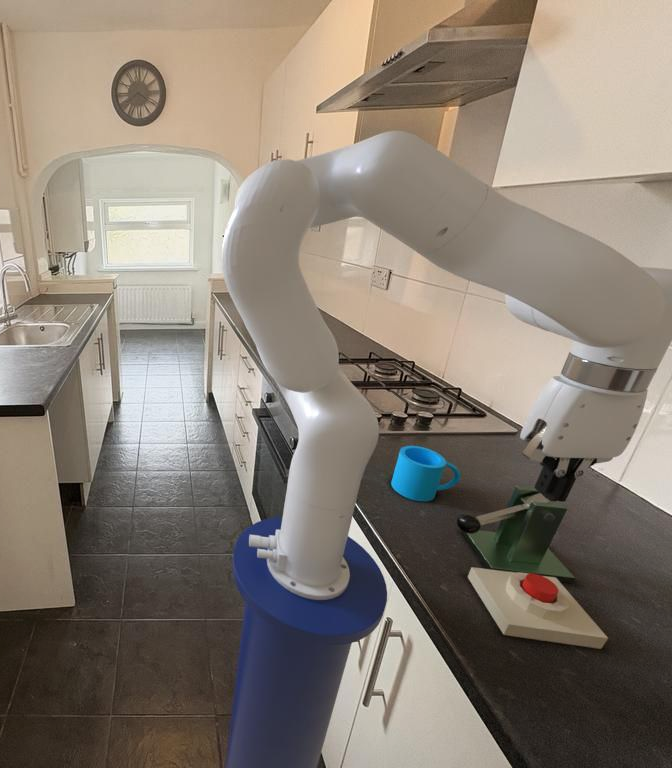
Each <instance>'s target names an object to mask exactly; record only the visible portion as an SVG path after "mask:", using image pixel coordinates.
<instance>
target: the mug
mask: <svg viewBox="0 0 672 768" xmlns="http://www.w3.org/2000/svg"><path fill="white" fill-rule="evenodd" d="M445 467H447V468H450V469H451V470H452V471H453V473H454V474H453V477H452V479H451V480H449V481H448V482H446V483H444V484H440V483H441V479H442V477H443V473H444V471H445V470H444V469H445ZM460 479H461V472H460V470H459V468H458V467H457V466H456V465H454V464H453V463H451V462H449V461H447V460H446V459H445V458H444V457H443V456H442V454H440V453H439V452H437V451H434V450H433V449H430V448H427V447H423V446H417V445H406V446H403V447H400V450H399V453H398V457H397V461H396V464H395V468H394V471H393V475H392V479H391V482H390V484H391V487H392V488H393V490H394V491H395V492H397V493H398V494H399V495H401V496H402V497H404V498H407V499H409V500H412V501H416V502H417V501H418V502H429V501H432V500H434V499H435V497H436V494H437V492H438V491H444V490H448V489H450V488H453V487H454V486H455V485H457V484H458V483H459V481H460Z"/></svg>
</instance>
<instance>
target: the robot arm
mask: <svg viewBox="0 0 672 768" xmlns="http://www.w3.org/2000/svg"><path fill="white" fill-rule="evenodd" d="M352 218H363V219H364V220H367V221H368V222H370V223H372V225H374V226H376V227H378V228H379V229H380V230H382V231H384V232H385V233H387V234H388V235H390V236H392V237H394V238H395V239H396V240H398V241H400V242H401V243H403V244H404V245H406V246H407V247H409V248H410V249H412V250H413V251H415V252H416V253H417V254H419V255H420V256H422V257H423V258H425V259H426V260H427V261H429V262H430V263H432V264H433V265H434V266H436V267H438V268H440V269H441V270H444V271H446V272H448V273H450V274H452V275H454V276H456V277H458V278H461V279H464V280H466V281H469V282H471V283H475V284H478V285H480V286H484V287H486V288H489V289H492V290H495V291H497V292H500V293H502V294H505V295H504V302H505V305H506V308H507V310H508V311H509V313H510V314H511V315H512V316H513V317H515V318H516V319H517V320H519V321H521V322H523V323H525V324H527V325H530V326H532V327H534V328H537V329H540V330H542V331H546V332H550V333H552V334H556V335H558V336H561V337H563V338H566V339H569V340H572V345H571V347H570V349H569V352H568V354H567V356H566V358H565V360H564V361H565V362H564V364H563V367H562V368H561V371H560V373H559V375H554V376H552V377H551V379H550V380H549V381H548V382H547V384H546V385H545V387H543V389H542V390H541V392H540V394H539V395H538V397H537V399H536V401H535V402H534V404H533V406H532V407H531V410H530V411H529V413H528V415H527V417H526V419H525V421H524V424H523V426H522V429H521V431H520V435H519V439H520V440H521V441H523V442H526V443H528V444H527V445H526V447H525V449H523V451H522V456H523V457H525V458H527V459H528V460H529V461H530V462H531V461H532V462H536V463H539V465H540V466H542V468H541V470H540V472H539V475H538V477H537V480H536V482H535V484H534V487H535V489H536V490H537V491H539V492H540V493H541V494H542V495H544V496H545V497H546V498H547V500H548V501H549V502H566V501H567V499H568V497H569V495H570V493H571V491H572V488H573V487H574V484H575V482H576V480H577V478H581V477H583V476H584V475H585V473H586V472H587V471H588V469H589V468H591V467H592V466H594V465H595V464H602V463H607V462H611V461H612V460H613V458H617V457H619V456H621V455H622V454H623V453H624V451H625V450H626V449H627V447H628V446H629V445H630V442H631V441H632V438H633V436H634V434H635V432H636V430H637V427H638V425H639V423H640V420H641V417H642V414H643V412H644V408H645V405H646V401H647V396H648V393H649V389H648V388H649V386H650V384H651V382H652V380H653V379H654V376H655V374H656V373H657V371H658V368H659V366H660V365H661V363H662V361H663V359H664V357H665V355H666V352H667V350H668V349H669V347H670V345H671V343H672V269H671V268H662V267H647V266H639V265H637V264H636V262H633V261H632V260H630V259H629V258H628V257H626V256H625V255H623V254H622V253H620V252H619V251H617V250H616V249H614V248H613V247H612V246H610V245H607V244H606V243H604V242H603V241H600V240H598V239H596V238H595V237H593V236H591V235H588V234H586V233H584V232H582V231H579V230H578V229H575V228H573V227H571V226H568V225H566V224H564V223H561V222H560V221H558V220H555V219H552V218H550V217H549V216H547V215H545V214H543V213H541V212H538V211H537V210H534V209H532V208H530V207H527V206H525V205H522V204H519V203H517V202H515V201H513V200H511V199H510V198H508V197H506V196H504V195H503V194H501V192H498V191H497V190H496V189H494V188H493V187H491V186H490V185H489V184H487V183H486V182H484V181H483V180H481V179H480V178H479V177H477V176H476V175H474V174H473V173H471V172H470V171H468V169H466V168H464V167H463V166H461V165H460V164H459V163H457V162H456V161H455V160H453V159H452V158H450V157H449V156H448V155H446V154H444V153H443V152H442V151H440V150H439V149H437V148H436V147H435V146H434V145H432V144H430V143H429V142H427V141H426V140H425V139H423V138H422V137H420V136H419V135H416V134H414V133H411V132H408V131H406V130H405V131H404V130H389V131H385V132H381V133H378V134H376V135H373V136H370V137H368V138H366V139H363V140H361V141H358V142H356V143H353V144H349V145H347V146H344V147H340V148H338V149H335V150H331V151H327V152H325V153H321V154H317V155H313V156H310V157H306V158H302V159H297V160H294V159H289V158H288V159H287V158H286V159H277V160H272V161H270V162H267V163H265V164H263V165H262V166H260V167H259V168H257V169H256V170H255V171H253V172H251V173H250V174H249V175H248V176H247V177H246V178H245V179H243V181H242V183H241V184H240V185H239V188H238V190H237V191H236V196H235V199H234V208H233V211H232V212H231V214H230V217H229V219H228V222H227V225H226V226H225V230H224V235H223V240H222V247H221V269H222V276H223V278H224V279H223V280H224V283H225V286H226V289H227V291H228V294H229V296H230V298H231V300H232V302H233V304H234V306H235V308H236V310H237V312H238V314H239V316H240V317H241V319H242V322H243V323H244V326H245V329H246V330H247V332H248V333H249V335H250V337H251V339H252V341H253V343H254V344H255V347H256V349H257V353H258V355H259V358H260V360H261V362H262V364H263V366H264V368H265V370H266V372H267V373H268V374H269V375H270V376H271V378H272V379H273V381H274V382H275V383H276V386H277V387H278V389H279V391H280V393H281V394H282V396H283V398H284V399H285V401H286V403H287V405H288V407H289V409H290V412H291V414H292V416H293V420H294V422H295V424H296V427H297V432H298V441H297V445H296V448H295V451H294V453H293V455H292V458H291V461H290V466H289V471H288V476H287V486H286V493H285V499H284V506H283V511H282V517H283V518H282V524H281V530H278V529H276V533H275V536H273V535H269V537H261V536H258V535H249V547H255V548H260V547H261V548H268V550H264V549H257V558H264V559H266V558H267V566H268V568H269V571H270V572H271V574H272V576H273V577H274V578H275V579H276V581H277V582H278V583H279V584H281V585H282V586H283V587H284V588H285V589H287V590H289V591H290V592H292V593H294V594H296V595H298V596H301V597H304V598H308V599H313V600H328V599H333V598H335V597H337V596H339V595H340V594H342V593H343V592H344V591H345V589H346V588H347V586H348V582H349V577H350V572H349V567H348V565H347V562H346V561H345V559H344V557H343V554H344V550H345V546H346V542H347V537H348V536H349V533H350V530H351V524H352V520H353V516H354V512H355V509H356V503H357V499H358V494H359V490H360V487H361V483H362V479H363V476H364V473H365V471H366V467H367V465H368V463H369V461H370V459H371V457H372V455H373V453H374V452H375V449H376V447H377V445H378V441H379V436H380V426H379V425H380V424H379V421H378V417H377V415H376V413H375V410H374V408H373V406H372V405H371V404H370V402H369V401H368V400H367V398H366V397H365V396H364V395H363V394H362V393H361V391H360V390H359V389H358V387H356V386H355V385H354V384H353V383H352V382H351V380H350V379H349V378H348V377H347V375H346V374H345V373H344V370H343V369H342V367H341V365H340V364H339V361H340V354H339V346H338V344H337V340H336V338H335V336H334V334H333V332H332V331H331V329H330V327H329V326H328V325H327V323H326V322H325V320H324V318H323V316H322V313H321V312H320V310H319V308H318V306H317V304H316V302H315V299H314V298H313V296H312V294H311V291H310V289H309V287H308V284H307V282H306V279H305V278H304V275H303V273H302V269H301V265H300V252H301V246H302V243H303V241H304V239H305V238H304V237H305V236H306V235H307V233H308V232H309V229H311V228H316V227H319V226H325V225H329V224H331V223H336V222H340V221H343V220H348V219H352Z"/></svg>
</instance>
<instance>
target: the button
mask: <svg viewBox="0 0 672 768" xmlns="http://www.w3.org/2000/svg"><path fill="white" fill-rule="evenodd" d="M522 588H523V590H524V591H525V592H526V593H527V594H528V595H530V596H531V597H532V598H534V599H536V600H539V601H541V602H543V603H552V602H553V601H554V599H555V597H556V596H557V594H558V588H557V586H556V585H555V584H554V583H553V582H552V581H550V580H549V579H547V578H545V577H543V576H541V575H538V574H528V575H526V577H525V579H524V581H523V583H522Z"/></svg>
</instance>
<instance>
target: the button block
mask: <svg viewBox="0 0 672 768" xmlns="http://www.w3.org/2000/svg"><path fill="white" fill-rule="evenodd" d="M528 574H529V573H521V572H517V573H515V572H506V571H498V570H490V569H487V568H481V567H472V566H471V567H470V570H469V572H468V575H467V579H468V581H469V582H470V583H471V585H472V587H473V588H474V590H475V592H476V593H477V595H478V596H479V598H480V599H481V601H482V603H483V604H484V606H485V608H486V609H487V611H488V612H489V614H490V616H491V617H492V619H493V620H494V622H495V624H496V626H497V627H498V628H499V630H500V632H501V633H502V634H503V636H509V637H515V638H523V639H530V640H536V641H543V642H545V641H546V642H551V643H558V644H565V645H571V646H578V647H586V648H592V649H599V650H600V649H602V648H604V646H605V644H606V642H607V641H608V639H609V637H608V636H607V635H606V634H605V632H603V630H602V629H601V628H600V627H599V625H598V624H597V623H596V622H595V621H594V620H593V618H591V616H590V615H589V614H588V613H587V612H586V610H584V608H583V607H582V606H581V605H580V604H579V602H578V601H577V600H576V598H574V597H573V596H572V594H571V592H569V590H567V588H566V587H565V586H564V585H563V584H562V582H560V581H558V579H557V578H555V577H547V576H543V577H545V578H547V579H549V580H550V581H552V582H553V583H554V584H555V585H556V586H557V588H558V594H557V596H556V597H555V599H554V601H553V602H552V603H543V602H541V601H539V600H536V599H534V598H532V597H531V596H530V595H528V594H527V593H526V592H525V591H524V590H523V588H522V583H523V581H524V579H525V577H526V575H528Z"/></svg>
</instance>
